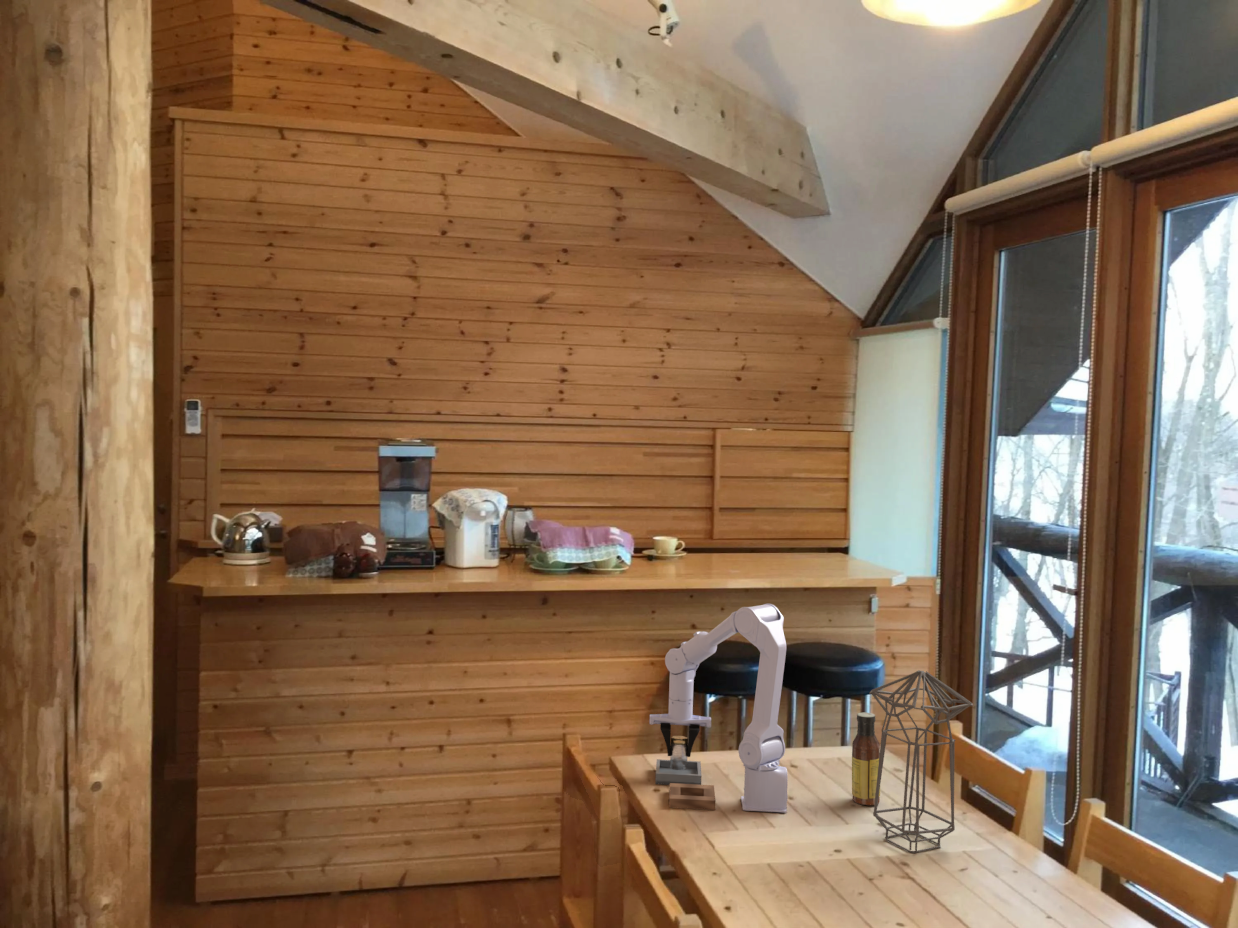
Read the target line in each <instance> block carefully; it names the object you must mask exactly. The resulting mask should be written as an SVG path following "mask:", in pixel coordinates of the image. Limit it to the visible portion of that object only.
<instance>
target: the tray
mask: <svg viewBox="0 0 1238 928" xmlns="http://www.w3.org/2000/svg"><path fill="white" fill-rule="evenodd" d="M701 764H702V763H701V761H697V760H696V761H695V760H687V769H685V770H674V769H671V768H670V759H657V758H656V765H655V767H656V768H655V785H662V786H663V785H667V786H668V785H669V786H670V783H678V784H698V785H702V776H703V775H702V765H701Z"/></svg>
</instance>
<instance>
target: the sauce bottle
mask: <svg viewBox="0 0 1238 928" xmlns="http://www.w3.org/2000/svg"><path fill="white" fill-rule="evenodd" d="M856 720H857V731H856V732H857V734H856V735H855V737H854V739H853V741H852V746H851V747H852V748H851V749H852V752H851V795H852V800H853V802H854V803H856V804H858V805H862V806H868V807H869V806H874V804H875V795H876V785H877V775H878V765H879V755H880V745H881V743H880V742H879V740H878V738H877V736H876V734H875V733H876V732H875V725H876V724H875V723H876V714H875V713H872V712H871V713H870V712H865V711H864V712H858V713H856ZM880 796H881V789H880V790H879V798H878V804H880V801H881V799H880V798H881V797H880Z"/></svg>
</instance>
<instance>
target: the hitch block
mask: <svg viewBox="0 0 1238 928" xmlns="http://www.w3.org/2000/svg"><path fill="white" fill-rule="evenodd" d="M668 798H669V799H668V800H669V801H668V805H669V806H668V808H669V807H670V809H673V808H676V809H688V810H689V809H692V810H708V811H709V810H710V811H716V802H717V801H716V791H715V785H714V784H713V785H712V784H711V785H710V784H701V785H698V784H678V783H670V785H669V797H668Z"/></svg>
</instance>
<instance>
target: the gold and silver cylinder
mask: <svg viewBox="0 0 1238 928" xmlns="http://www.w3.org/2000/svg"><path fill="white" fill-rule="evenodd" d="M688 740H689V737H686V736H684V735H673V736H670V742H671V756H669V758H670V759H669V760H670V768H671V769H674V770H685V769H687V761H688V757H687V751H688Z"/></svg>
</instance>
